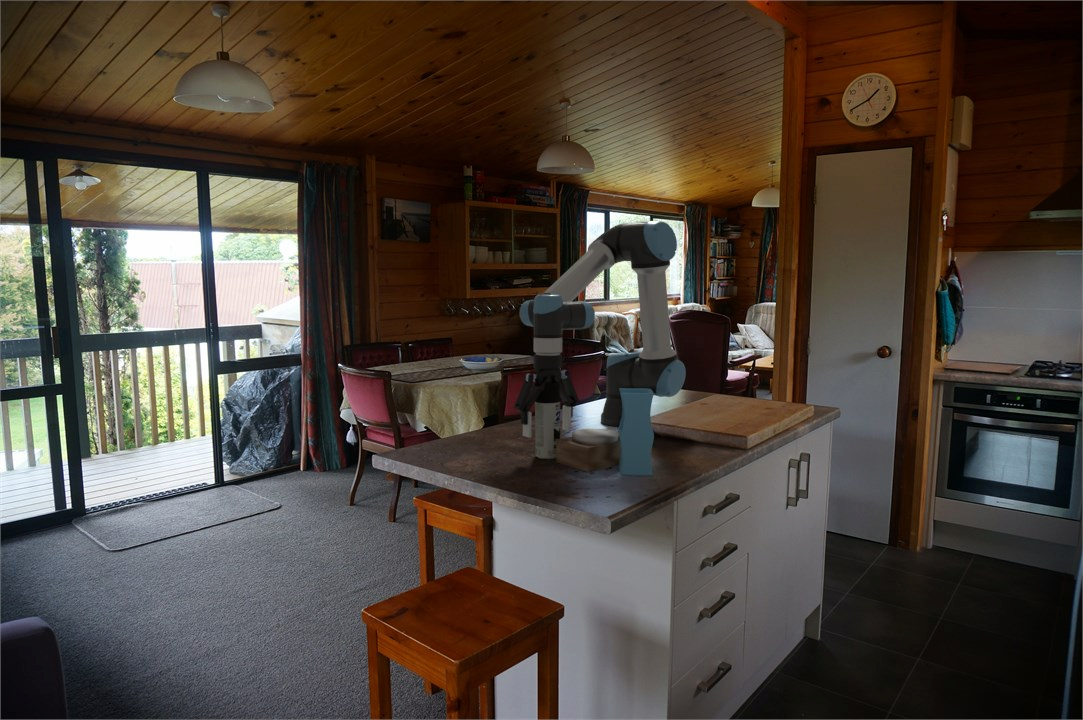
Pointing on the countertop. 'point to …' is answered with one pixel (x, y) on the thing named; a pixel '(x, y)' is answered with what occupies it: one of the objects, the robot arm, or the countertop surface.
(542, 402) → the spray can
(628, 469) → the vase
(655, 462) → the countertop surface
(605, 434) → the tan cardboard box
